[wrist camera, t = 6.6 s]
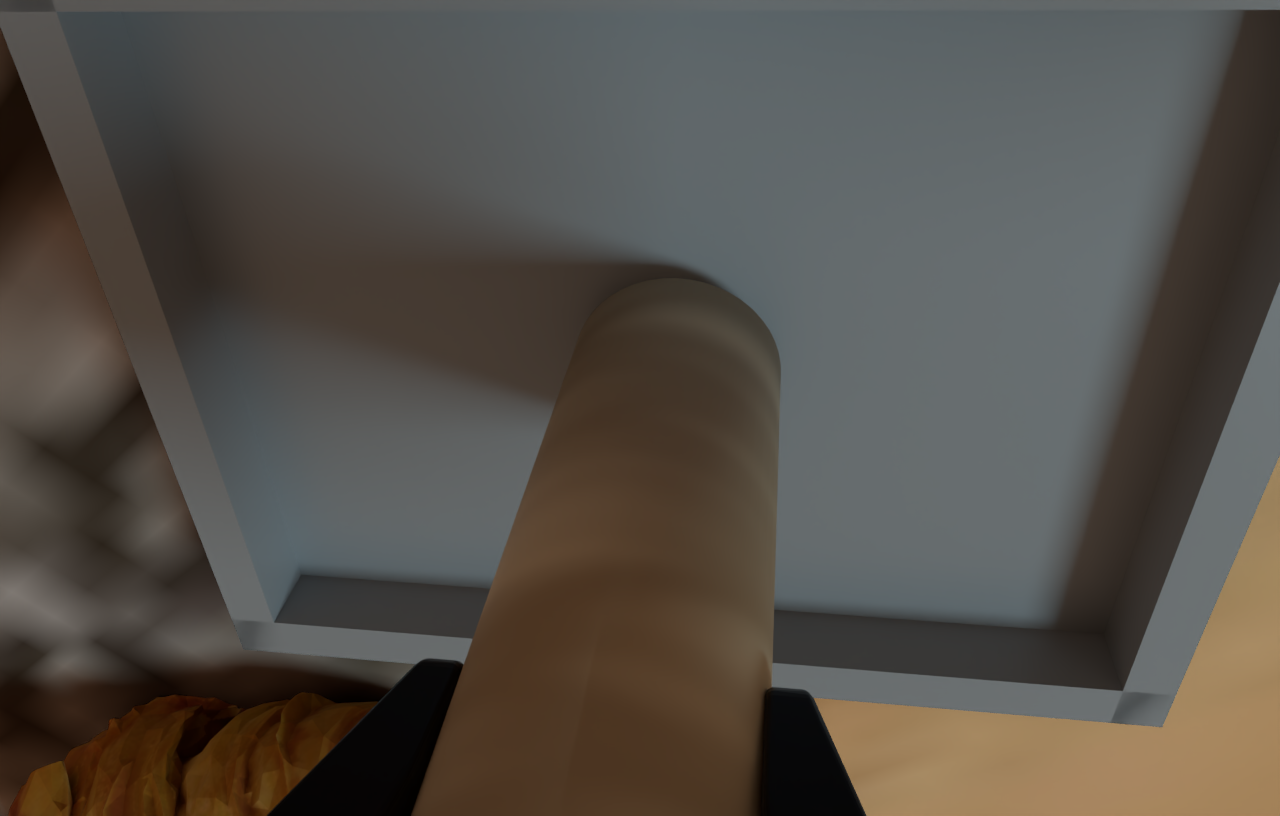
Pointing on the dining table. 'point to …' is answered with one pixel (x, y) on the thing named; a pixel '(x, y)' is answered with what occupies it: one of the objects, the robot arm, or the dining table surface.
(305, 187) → the tray
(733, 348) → the dowel
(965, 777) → the dining table surface
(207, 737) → the croissant
